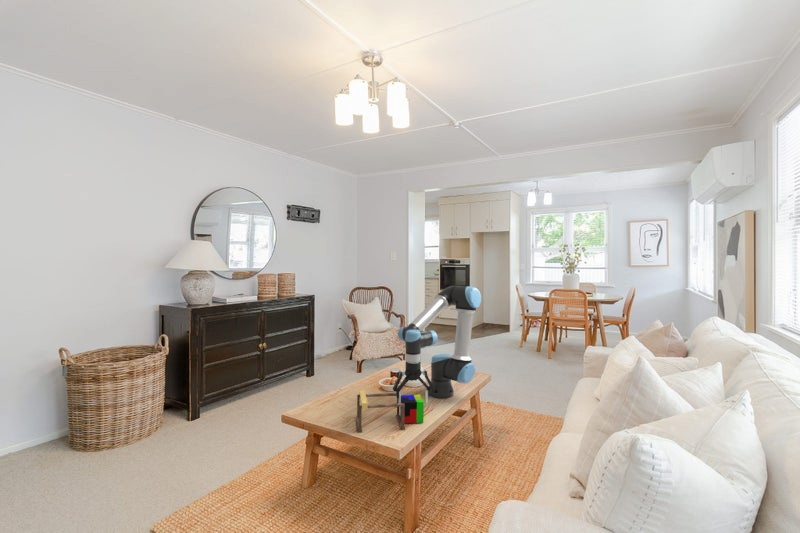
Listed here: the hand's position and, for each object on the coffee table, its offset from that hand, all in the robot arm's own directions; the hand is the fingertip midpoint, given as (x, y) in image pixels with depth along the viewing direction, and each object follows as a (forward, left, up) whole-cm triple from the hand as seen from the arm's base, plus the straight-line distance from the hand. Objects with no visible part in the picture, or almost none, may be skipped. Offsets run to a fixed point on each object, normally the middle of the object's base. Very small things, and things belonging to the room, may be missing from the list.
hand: (413, 403), depth 190 cm
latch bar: (+25, +3, +3) cm, 25 cm away
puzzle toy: (+1, 0, -8) cm, 8 cm away
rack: (+16, +3, -8) cm, 18 cm away
